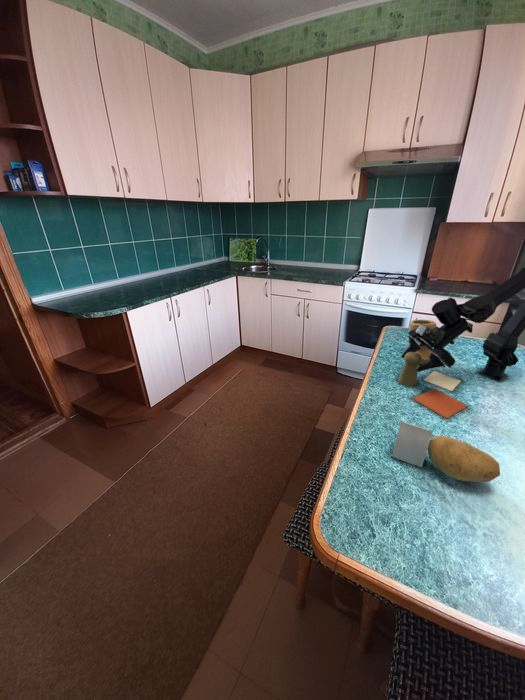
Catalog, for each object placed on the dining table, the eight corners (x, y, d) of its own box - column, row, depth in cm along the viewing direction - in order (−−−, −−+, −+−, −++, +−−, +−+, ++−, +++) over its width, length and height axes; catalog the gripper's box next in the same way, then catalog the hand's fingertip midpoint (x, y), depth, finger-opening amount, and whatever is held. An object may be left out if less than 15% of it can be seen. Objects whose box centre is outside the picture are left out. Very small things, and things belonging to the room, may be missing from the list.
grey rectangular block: (421, 467, 69) (432, 436, 65) (391, 456, 73) (399, 426, 68) (423, 457, 72) (433, 426, 68) (394, 447, 75) (401, 417, 71)
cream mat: (433, 371, 108) (434, 370, 107) (461, 381, 101) (461, 380, 101) (423, 380, 102) (423, 379, 102) (451, 391, 96) (451, 390, 96)
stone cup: (407, 346, 126) (415, 313, 120) (438, 353, 120) (448, 319, 113) (397, 359, 116) (404, 325, 109) (429, 368, 109) (440, 332, 102)
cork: (418, 386, 99) (426, 358, 94) (399, 385, 100) (406, 357, 95) (414, 377, 104) (421, 350, 99) (396, 375, 105) (402, 349, 100)
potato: (490, 504, 61) (504, 478, 57) (418, 471, 69) (426, 446, 65) (493, 473, 68) (506, 448, 64) (427, 446, 75) (435, 422, 72)
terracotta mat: (433, 389, 98) (433, 388, 98) (467, 406, 89) (467, 405, 89) (412, 399, 93) (412, 398, 93) (446, 419, 85) (446, 418, 84)
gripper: (419, 307, 100) (383, 338, 104) (457, 328, 83) (412, 364, 88) (434, 327, 104) (399, 356, 108) (473, 350, 88) (430, 383, 92)
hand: (409, 363), depth 99 cm, fingers open, 9 cm apart
